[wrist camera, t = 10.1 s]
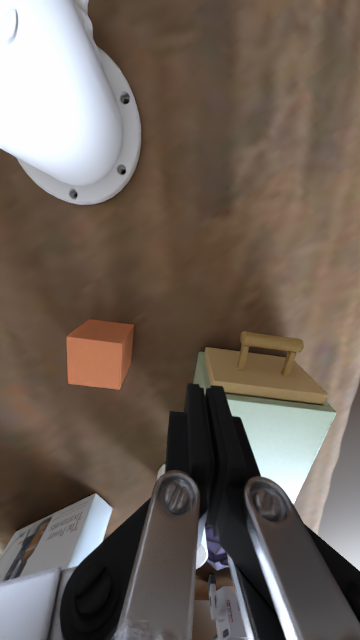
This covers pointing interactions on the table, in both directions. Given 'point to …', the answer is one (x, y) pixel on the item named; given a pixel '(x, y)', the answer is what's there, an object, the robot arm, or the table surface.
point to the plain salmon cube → (99, 353)
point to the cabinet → (278, 432)
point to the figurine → (226, 612)
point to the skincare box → (57, 539)
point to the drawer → (263, 371)
